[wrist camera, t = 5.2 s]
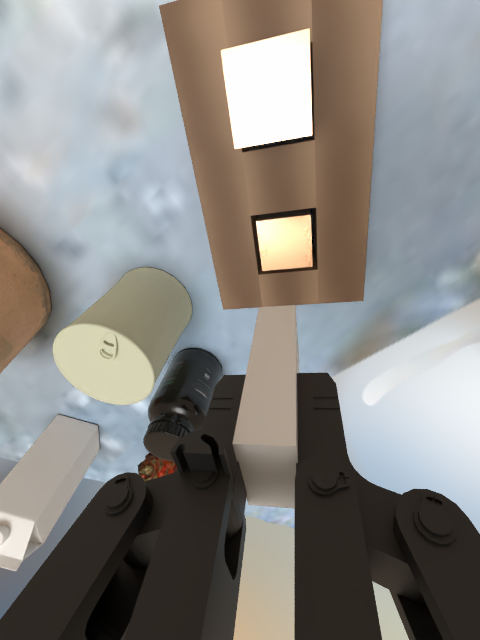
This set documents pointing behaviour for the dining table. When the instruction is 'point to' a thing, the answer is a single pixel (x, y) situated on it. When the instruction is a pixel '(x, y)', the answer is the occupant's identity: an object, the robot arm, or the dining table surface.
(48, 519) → the milk carton
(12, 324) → the pottery
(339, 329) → the dining table surface
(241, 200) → the socket block
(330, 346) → the dining table surface
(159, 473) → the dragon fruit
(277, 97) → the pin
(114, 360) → the can
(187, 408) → the supplement bottle
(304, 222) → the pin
